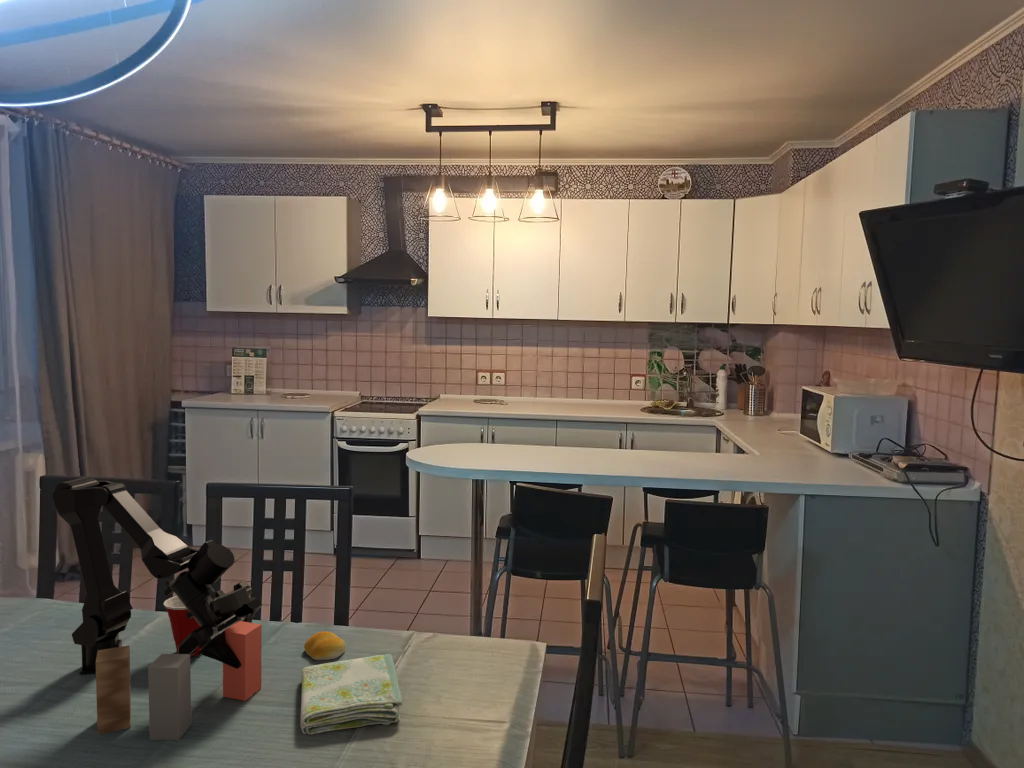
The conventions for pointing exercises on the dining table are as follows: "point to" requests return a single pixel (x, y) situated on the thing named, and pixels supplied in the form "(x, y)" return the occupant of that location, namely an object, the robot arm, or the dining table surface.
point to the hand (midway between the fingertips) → (248, 660)
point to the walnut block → (113, 689)
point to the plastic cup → (180, 621)
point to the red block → (243, 661)
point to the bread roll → (324, 646)
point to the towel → (349, 694)
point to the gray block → (169, 696)
